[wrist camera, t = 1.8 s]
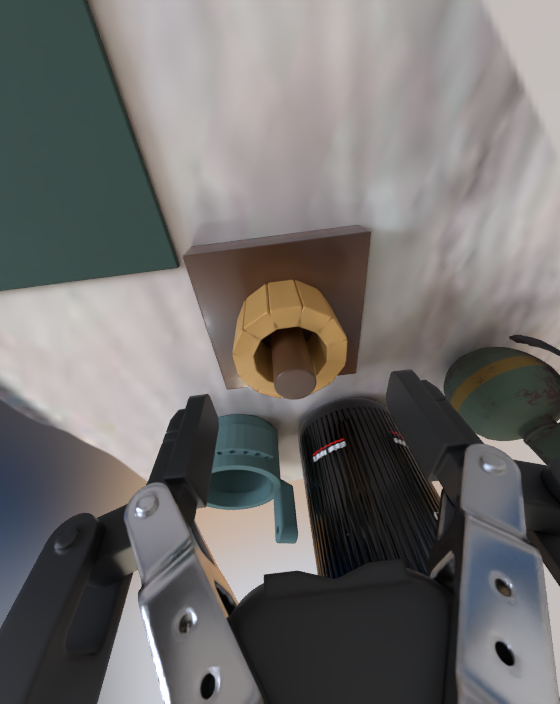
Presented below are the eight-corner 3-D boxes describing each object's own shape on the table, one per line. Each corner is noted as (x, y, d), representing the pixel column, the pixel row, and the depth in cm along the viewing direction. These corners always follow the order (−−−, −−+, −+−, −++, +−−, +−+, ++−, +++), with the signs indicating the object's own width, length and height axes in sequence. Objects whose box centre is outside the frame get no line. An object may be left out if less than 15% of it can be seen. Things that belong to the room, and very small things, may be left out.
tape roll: (228, 287, 14) (220, 316, 11) (332, 273, 14) (351, 299, 11) (247, 366, 18) (245, 404, 15) (330, 356, 18) (344, 391, 15)
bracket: (292, 447, 28) (304, 543, 20) (220, 469, 29) (208, 566, 22) (257, 397, 23) (257, 502, 15) (173, 427, 24) (137, 535, 17)
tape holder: (190, 246, 14) (141, 300, 8) (358, 224, 14) (430, 262, 8) (229, 372, 20) (217, 456, 14) (348, 357, 20) (386, 435, 14)
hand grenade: (460, 398, 25) (558, 509, 16) (411, 378, 22) (496, 494, 14) (537, 338, 21) (716, 445, 13) (487, 306, 18) (665, 412, 10)
